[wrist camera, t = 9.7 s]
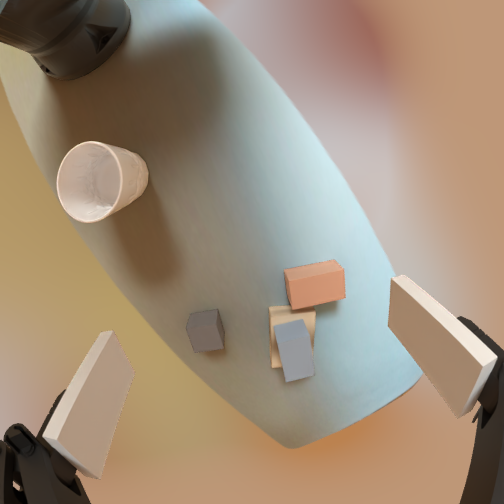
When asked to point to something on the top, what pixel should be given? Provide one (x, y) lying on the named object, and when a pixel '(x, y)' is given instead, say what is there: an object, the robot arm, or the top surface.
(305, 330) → the blue block
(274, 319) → the maple block
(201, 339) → the charcoal block
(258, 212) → the top surface
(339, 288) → the terracotta block
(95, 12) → the robot arm
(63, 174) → the white cup
